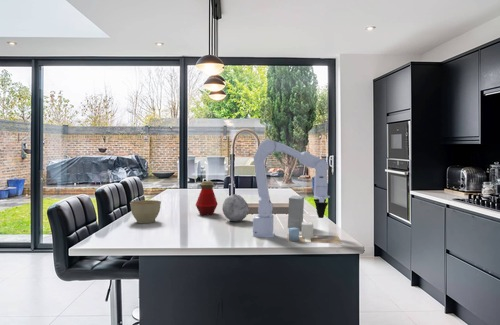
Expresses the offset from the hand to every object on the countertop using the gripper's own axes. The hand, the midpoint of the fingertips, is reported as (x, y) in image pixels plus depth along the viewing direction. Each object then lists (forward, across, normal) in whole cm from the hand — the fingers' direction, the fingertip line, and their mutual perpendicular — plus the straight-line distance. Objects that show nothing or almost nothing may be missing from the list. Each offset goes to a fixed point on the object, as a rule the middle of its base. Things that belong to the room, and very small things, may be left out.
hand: (320, 216), depth 161 cm
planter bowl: (+11, +22, +92) cm, 95 cm away
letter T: (+9, -5, +6) cm, 12 cm away
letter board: (+10, -4, +3) cm, 11 cm away
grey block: (+9, -1, +6) cm, 11 cm away
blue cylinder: (+9, -8, +12) cm, 17 cm away
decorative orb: (+10, +31, +44) cm, 55 cm away
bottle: (+10, +50, +64) cm, 83 cm away
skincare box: (+10, +19, +11) cm, 24 cm away
